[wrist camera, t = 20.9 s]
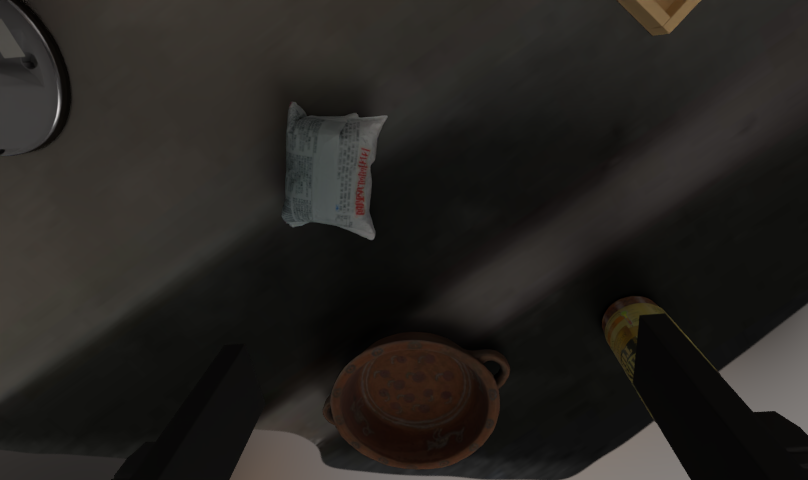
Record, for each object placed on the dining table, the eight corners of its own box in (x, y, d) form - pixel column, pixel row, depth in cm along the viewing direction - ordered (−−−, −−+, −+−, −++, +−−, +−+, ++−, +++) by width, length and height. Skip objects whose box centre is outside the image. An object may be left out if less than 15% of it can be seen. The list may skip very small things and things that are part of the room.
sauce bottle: (595, 298, 44) (708, 464, 26) (659, 287, 43) (824, 451, 25) (600, 350, 47) (707, 536, 28) (661, 340, 46) (813, 526, 27)
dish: (531, 409, 50) (540, 443, 46) (364, 455, 55) (357, 491, 50) (478, 287, 45) (483, 312, 40) (297, 350, 49) (283, 379, 45)
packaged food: (390, 112, 39) (383, 119, 34) (376, 233, 43) (368, 253, 39) (296, 99, 39) (276, 103, 34) (292, 220, 43) (274, 238, 39)
